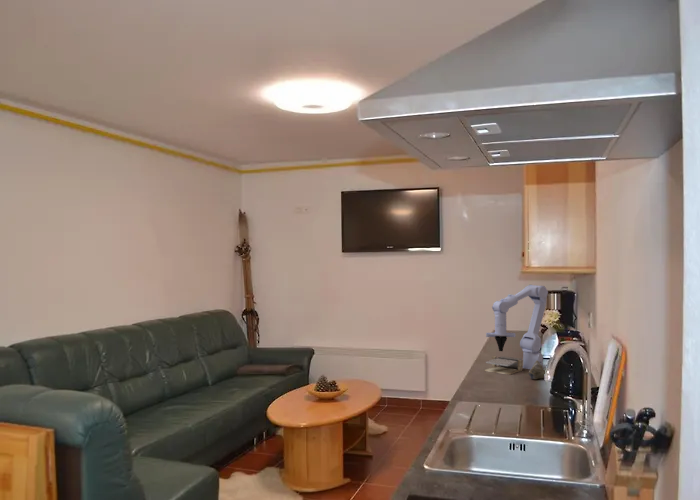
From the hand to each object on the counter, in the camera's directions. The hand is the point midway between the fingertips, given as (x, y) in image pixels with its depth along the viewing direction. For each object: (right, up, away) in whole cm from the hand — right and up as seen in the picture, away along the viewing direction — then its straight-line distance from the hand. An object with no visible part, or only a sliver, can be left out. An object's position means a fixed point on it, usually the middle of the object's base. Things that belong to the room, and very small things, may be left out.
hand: (500, 351), depth 279 cm
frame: (+1, -10, +1) cm, 11 cm away
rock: (+10, -4, -13) cm, 17 cm away
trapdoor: (+3, -10, +3) cm, 10 cm away
